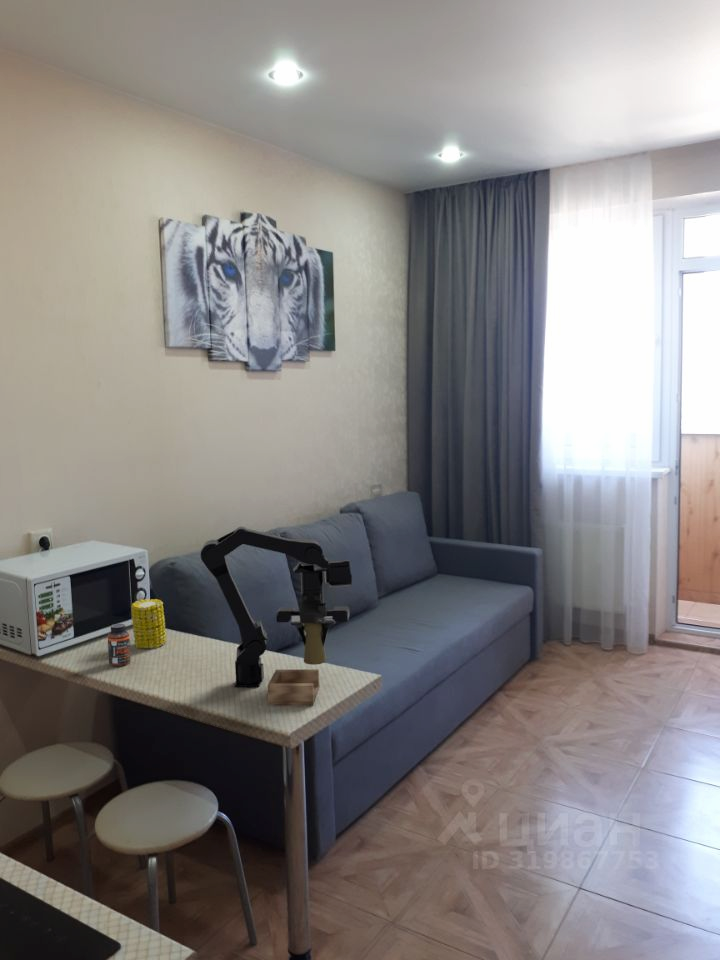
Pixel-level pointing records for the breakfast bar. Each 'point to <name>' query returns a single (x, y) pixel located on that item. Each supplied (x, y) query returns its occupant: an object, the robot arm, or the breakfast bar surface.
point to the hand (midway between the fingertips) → (314, 645)
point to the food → (148, 623)
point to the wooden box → (293, 687)
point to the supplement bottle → (119, 646)
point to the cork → (314, 644)
